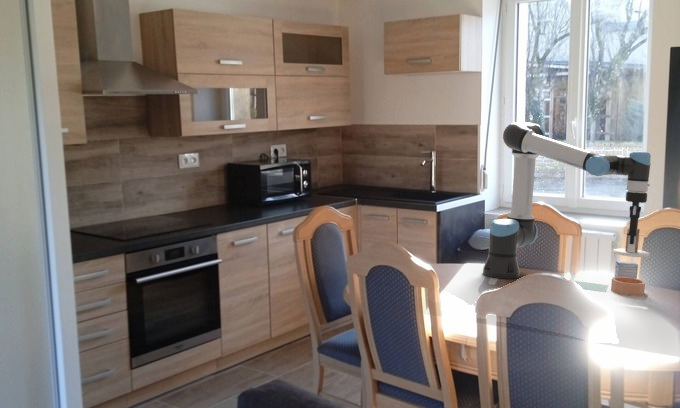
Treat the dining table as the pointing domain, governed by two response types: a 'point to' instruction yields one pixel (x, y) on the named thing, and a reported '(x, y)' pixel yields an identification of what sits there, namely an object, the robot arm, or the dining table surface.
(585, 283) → the trivet
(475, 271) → the dining table surface
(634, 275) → the medicine box
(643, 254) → the lid
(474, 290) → the dining table surface
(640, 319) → the dining table surface
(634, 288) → the bowl
